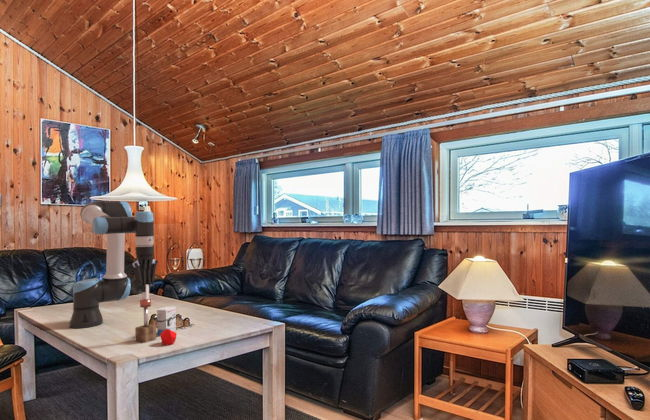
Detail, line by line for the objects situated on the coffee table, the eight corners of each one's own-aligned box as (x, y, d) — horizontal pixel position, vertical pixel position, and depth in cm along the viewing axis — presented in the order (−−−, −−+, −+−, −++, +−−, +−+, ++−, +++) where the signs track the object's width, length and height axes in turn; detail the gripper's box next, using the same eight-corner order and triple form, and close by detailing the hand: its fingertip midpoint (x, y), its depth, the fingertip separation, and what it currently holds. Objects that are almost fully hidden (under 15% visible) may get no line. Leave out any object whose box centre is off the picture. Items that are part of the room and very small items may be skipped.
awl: (138, 334, 183) (137, 300, 184) (146, 331, 187) (145, 298, 188) (145, 335, 181) (145, 300, 182) (153, 332, 185) (153, 299, 186)
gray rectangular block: (174, 329, 202) (174, 328, 202) (188, 324, 212) (188, 323, 212) (180, 329, 201) (180, 329, 201) (194, 324, 210) (194, 324, 210)
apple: (179, 331, 176) (172, 322, 182) (162, 337, 172) (156, 327, 178) (180, 344, 179) (174, 334, 185) (164, 351, 175) (158, 340, 181)
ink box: (166, 335, 191) (165, 309, 191) (156, 335, 192) (156, 309, 192) (176, 330, 199) (176, 306, 200) (167, 330, 200) (167, 305, 201)
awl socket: (135, 341, 183) (135, 327, 183) (146, 337, 188) (146, 324, 188) (145, 342, 180) (145, 328, 180) (156, 338, 186) (156, 325, 186)
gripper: (139, 247, 178) (139, 302, 177) (162, 245, 190) (163, 297, 189) (126, 247, 181) (127, 301, 180) (150, 245, 193) (150, 296, 192)
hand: (145, 299), depth 185 cm, fingers closed
